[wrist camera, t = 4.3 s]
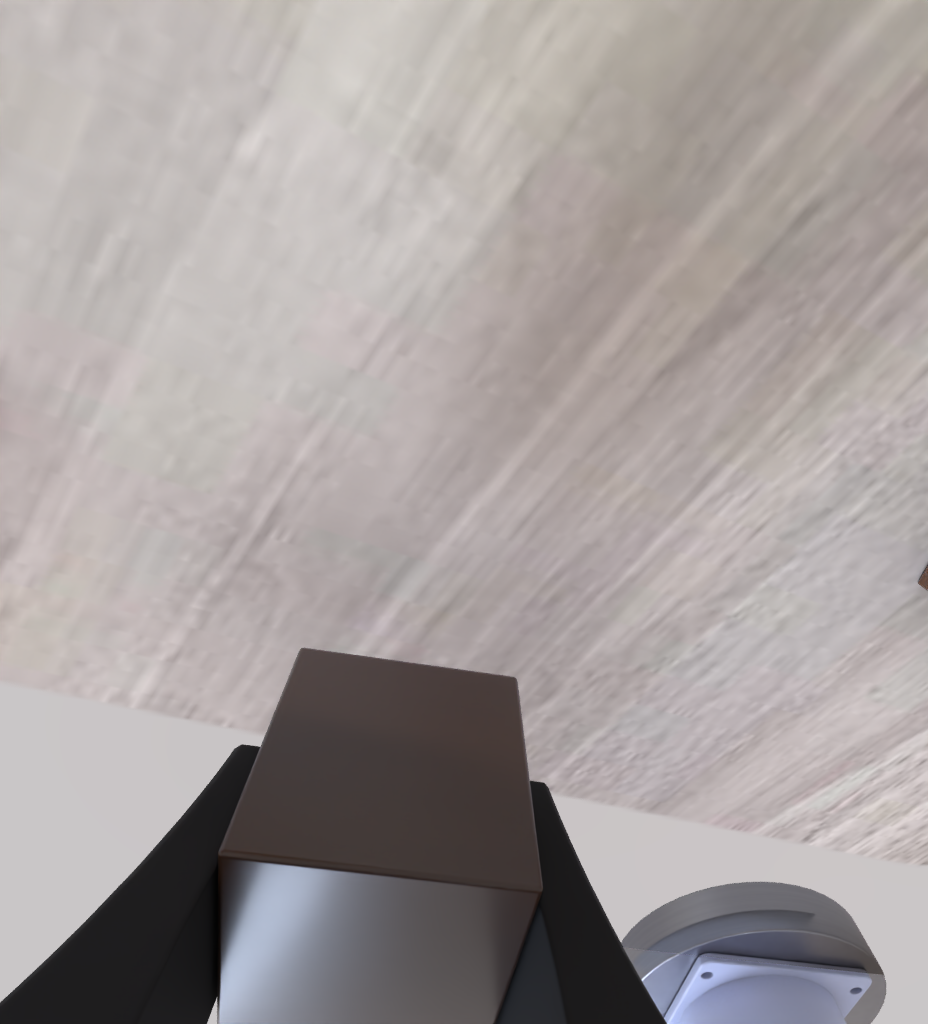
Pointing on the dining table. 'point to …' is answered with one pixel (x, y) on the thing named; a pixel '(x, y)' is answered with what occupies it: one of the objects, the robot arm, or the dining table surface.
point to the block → (379, 850)
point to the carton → (924, 579)
